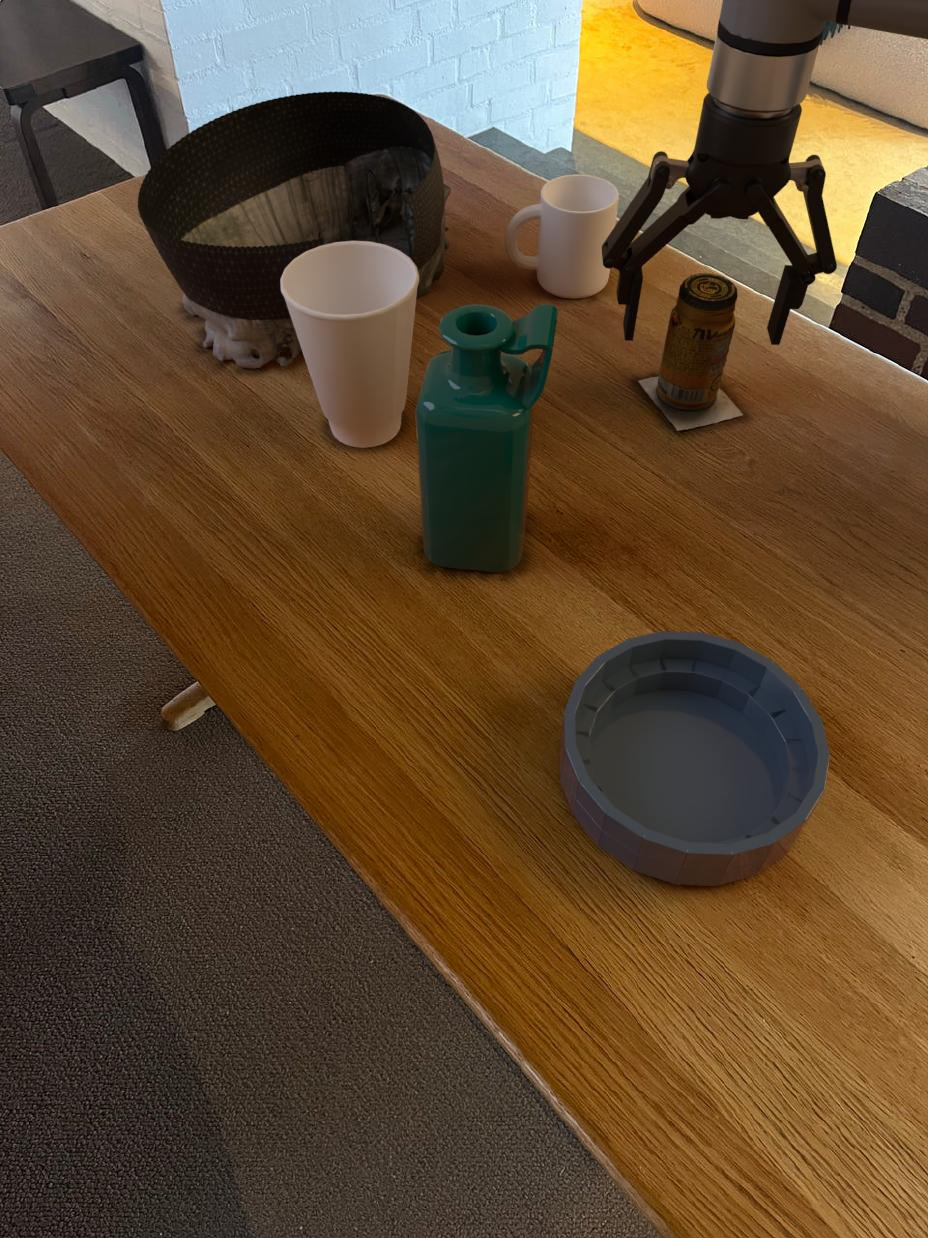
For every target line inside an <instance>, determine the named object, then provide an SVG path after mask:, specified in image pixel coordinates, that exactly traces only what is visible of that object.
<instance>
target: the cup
mask: <svg viewBox="0 0 928 1238" xmlns="http://www.w3.org/2000/svg"><path fill="white" fill-rule="evenodd" d="M419 279H420V278H419V274H418V269H417V267H416V265H415V264H414V263H413V261H412V260H411V259H410V257H408V256H407V255H405V254H404V253H402V252H401V251H400V250H397V249H395V248H392V247H390V246H387V245H384V244H379V243H374V242H367V241H345V242H335V243H331V244H326V245H322V246H319V247H316V248H314V249H311V250H309V251H306V252H304V253H303V254H301V255H300V256H298V257H297V258H295V259H293V261H292V262H291V263H290V264H289V265H288V266H287V267H286V268H285V270H284V272H283V274H282V277H281V279H280V283H281V292H282V294H283V296H284V298H285V301H286V304H287V307H288V310H289V313H290V316H291V319H292V322H293V325H294V328H295V331H296V334H297V337H298V340H299V343H300V346H301V349H302V351H301V352H302V355H303V358H304V361H305V365H306V367H307V369H308V373H309V376H310V379H311V382H312V384H313V388H314V391H315V393H316V397H317V401H318V403H319V406H320V409H321V411H322V413H323V415H324V417H325V418H326V419H327V420H328V425H329V428H330V431H331V433H332V435H333V437H334V438H335V439H337V441H339V442H340V443H342V444H344V445H346V446H349V447H354V448H362V449H363V448H364V449H366V448H374V447H377V446H382V445H383V444H386V443H388V442H391V440H392V439H394V438H395V437H396V436H397V435H398V433H399V432H400V430H401V426H402V415H403V414H402V413H403V411H404V410H405V406H406V402H407V393H408V383H409V374H410V363H411V355H412V345H413V336H414V335H413V334H414V326H415V325H414V324H415V315H416V307H417V306H416V305H417V299H416V296H417V287H418V283H419Z"/></svg>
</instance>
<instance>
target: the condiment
mask: <svg viewBox="0 0 928 1238" xmlns="http://www.w3.org/2000/svg"><path fill="white" fill-rule="evenodd" d="M738 296H739V295H738V288H737V286H736V285H735V283H734V282H732V281H731V280H730V279H729V278H727V277H725V276H723V275H719V274H716V273H712V272H711V273H706V272H705V273H704V272H703V273H701V272H700V273H696V274H693V275H692V274H691V275H690V276H688V277H686V278H685V279H684V280H683V281H682V282H681V284H680V285H679V288H678V295H677V297H676V302H675V304H674V306H673V307H672V309H671V311H670V315H669V320H668V325H667V331H666V336H665V340H664V347H663V351H662V358H661V363H660V366H659V367H660V368H659V371H658V372H659V373H658V376H653V377H648V378H643V379H639V380H637V382H638V383H639V385H640V386H641V388H642V390H644V392H645V393H646V394H647V395H648V397H649V398H650V400H651V401H652V402H653V403H654V404H655V406H657V408H658V409H660V410H661V412H662V414H663V415H664V416H665V418H666V419H667V421H669V423H671V424H672V425H673V427H674V428H675V430H676V431H677V432H679V431H683V430H690V429H695V428H698V427H705V426H708V425H711V424H718V423H720V422H722V421H726V420H732V419H734V418H739V417H742V416H744V413H742V411H741V410H740V409H739V408H738V407H737V406H736V405H735V403H734V401H732V400H731V399H730V397H729V396H728V395H727V394H726V393H725V392H724V391H723V390H722V389H721V388H720V386H721V382H722V377H723V376H724V375H723V374H724V371H725V370H724V368H725V366H726V363H727V361H728V353H730V345H731V344H732V343H731V342H732V339H733V334H734V330H735V326H736V315H735V310H736V303H737V301H738Z"/></svg>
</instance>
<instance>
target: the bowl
mask: <svg viewBox="0 0 928 1238" xmlns="http://www.w3.org/2000/svg"><path fill="white" fill-rule="evenodd" d="M558 748H559V749H558V751H559V756H558V757H559V780H560V785H561V788H562V790H563V792H564V794H565V798H566V800H567V803H568V805H569V808H570V810H571V813H572V815H573V817H574V818H575V819H576V821H577V822H578V823H579V824H580V826H581V827H582V828H583V829H584V830H585V832H586V833H587V834H588V835H589V837H590V838H591V839H592V841H593V842H594V843H595V844H596V845H597V846H598V847H599V848H600V849H602V850H603V851H604V852H606V853H607V854H609V855H610V856H612V857H613V858H615V859H617V860H618V861H619V862H621V863H622V864H623V865H625V866H626V867H628V868H629V869H630V870H633V871H634V872H637V873H639V874H642V875H646V876H649V877H652V878H655V879H658V880H661V881H664V882H665V883H670V884H673V885H675V886H676V885H679V886H704V887H705V886H706V887H718V886H722V885H727V884H729V883H733V882H737V881H740V880H743V879H747V878H751V877H754V876H758V875H759V874H761V873H762V872H764V871H765V870H766V869H768V868H769V867H770V866H772V865H774V863H776V862H777V861H779V860H780V859H782V858H783V857H785V856H786V855H787V854H788V853H789V852H790V850H791V848H792V847H793V845H794V843H795V842H796V841H797V838H798V837H799V835H800V834H801V833H802V830H803V829H804V828H805V826H806V824H807V823H808V821H809V819H810V817H811V816H812V814H813V812H814V810H815V809H816V807H817V805H818V803H819V801H820V800H821V798H822V797H823V795H824V793H825V791H826V786H827V779H828V773H829V772H828V771H829V768H830V767H829V766H830V761H831V754H830V753H831V752H830V749H829V744H828V740H827V736H826V732H825V727H824V722H823V721H822V718H821V716H820V714H819V713H818V711H817V710H816V708H815V707H814V705H813V703H812V702H811V700H810V698H809V696H808V695H807V692H805V690H804V688H803V686H801V684H799V683H798V682H797V681H796V680H795V679H794V678H793V677H791V676H790V675H789V674H788V673H787V672H786V671H785V670H784V669H783V668H782V667H781V666H779V664H777V662H775V661H774V660H772V659H770V658H769V657H766V656H765V655H764V654H761V653H759V652H757V651H756V650H754V649H752V648H750V647H748V646H747V645H744V644H743V643H741V642H739V641H735V640H733V639H732V640H731V639H728V638H724V637H721V636H717V635H713V634H710V633H705V632H701V631H699V632H698V631H670V630H669V631H668V630H663V631H657V632H652V633H649V634H643V635H639V636H635V637H631V638H630V637H629V638H627V639H625V640H623V641H622V642H620V643H618V644H616V645H615V646H613V647H611V648H609V649H608V650H606V651H604V652H602V653H601V654H599V655H598V656H596V657H595V658H594V660H593V661H592V662H591V663H590V664H589V665H588V666H587V668H585V670H584V671H583V672H582V673H581V674H580V675H579V676H578V678H577V679H576V680H575V682H574V683H573V687H572V689H571V692H570V694H569V697H568V700H567V703H566V705H565V708H564V710H563V718H562V724H561V733H560V740H559V747H558Z"/></svg>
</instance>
